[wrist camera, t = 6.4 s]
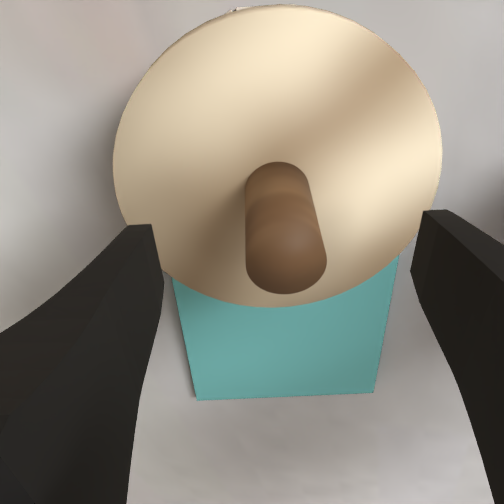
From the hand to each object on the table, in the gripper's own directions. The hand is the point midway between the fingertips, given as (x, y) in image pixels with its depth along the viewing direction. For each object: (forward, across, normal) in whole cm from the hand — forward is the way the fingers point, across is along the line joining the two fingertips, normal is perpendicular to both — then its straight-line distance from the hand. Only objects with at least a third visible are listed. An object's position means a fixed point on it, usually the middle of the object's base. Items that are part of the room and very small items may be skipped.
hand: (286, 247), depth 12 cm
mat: (+9, 0, +13) cm, 16 cm away
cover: (+5, 0, 0) cm, 5 cm away
